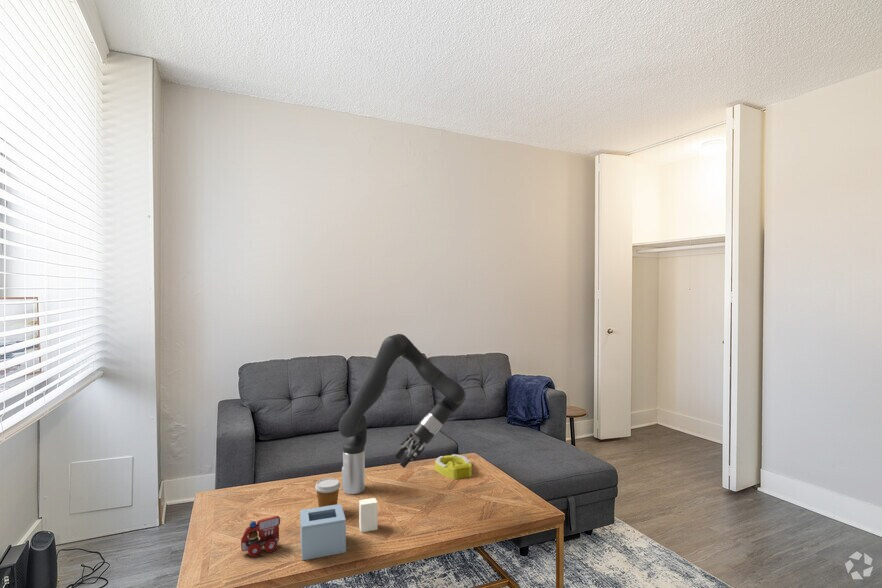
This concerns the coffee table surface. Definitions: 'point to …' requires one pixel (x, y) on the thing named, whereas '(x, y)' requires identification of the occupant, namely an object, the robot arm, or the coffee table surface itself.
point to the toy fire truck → (261, 536)
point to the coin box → (322, 531)
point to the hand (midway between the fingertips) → (399, 461)
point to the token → (368, 515)
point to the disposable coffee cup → (327, 491)
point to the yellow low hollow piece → (454, 466)
